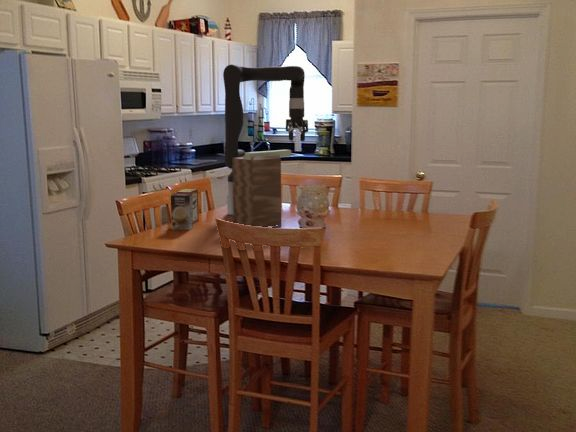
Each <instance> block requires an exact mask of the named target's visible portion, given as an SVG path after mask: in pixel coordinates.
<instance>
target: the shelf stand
mask: <svg viewBox="0 0 576 432" xmlns="http://www.w3.org/2000/svg"><path fill="white" fill-rule="evenodd" d="M232 166H233V210H234V215H233V224H234V223H239V224H244V225H251V226H262V227H268V226H276V225H281V226H282V157H280V155H268V156H256V157H253V160H246V159H245V156H243V157H237V158H232Z"/></svg>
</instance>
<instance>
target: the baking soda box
mask: <svg viewBox="0 0 576 432" xmlns="http://www.w3.org/2000/svg"><path fill="white" fill-rule="evenodd" d="M176 193H179V194H192V198H193V224H195V223H197V222H199V221H200V218H199V189H198V188H197V189H195V188H183V189H181V190H178V191H176Z"/></svg>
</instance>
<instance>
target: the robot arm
mask: <svg viewBox="0 0 576 432" xmlns="http://www.w3.org/2000/svg"><path fill="white" fill-rule="evenodd" d="M222 77H223V84H224V93H225V95H224V123H225V125H224V127H225V136H224V137H225V139H224V140H225V141H224V142H225V143H224V155H223V160H224V164H225V165H226V167H227V168H229V169H231V172H230V173H229V175H228V176H227V198H226V203H227V214H228V215H229V216H234V210H233V166H232V158H237V157H243V156H245V153H246V152H245V150H243V149H239V138H240V135H241V132H242V131H243V130H242V129H243V128H244V127H243V126H244V108H243V104H242V99H241V95H240V94H241V93H240V89H241V88H240V86H241V83H244V82H252V81H259V82H260V81H261V82H262V81H264V82H281V81H282V82H283V81H290V88H289V101H288V102H289V103H288V117H289V118H288V119H287V118H286V120H285V132H288V140H289V141H293V140H294V130H295V129H297V130H298V131H299V132H300V135H299V136H300V139H299V140H300V142H305V140H306V133H308V132H309V120H308V119H304V117H305V97H304V95H305V90H304V86H305V77H306V76H305V71H304V69H303V67H301V66H298V65H291V66H290V65H289V66H261V67H246V66H239V65H238V64H228V65H226V66H225V68H224V69H223V73H222Z"/></svg>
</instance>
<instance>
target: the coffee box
mask: <svg viewBox="0 0 576 432" xmlns="http://www.w3.org/2000/svg"><path fill="white" fill-rule="evenodd" d="M170 219H171V220H170V221H171V230H174V231H175V230H176V231H178V230H180V231H191V230H192V229H193V228H194V223H193V198H192V194H179V193H177V192H176V193H175V192H174V193H172V194H171V195H170Z"/></svg>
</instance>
